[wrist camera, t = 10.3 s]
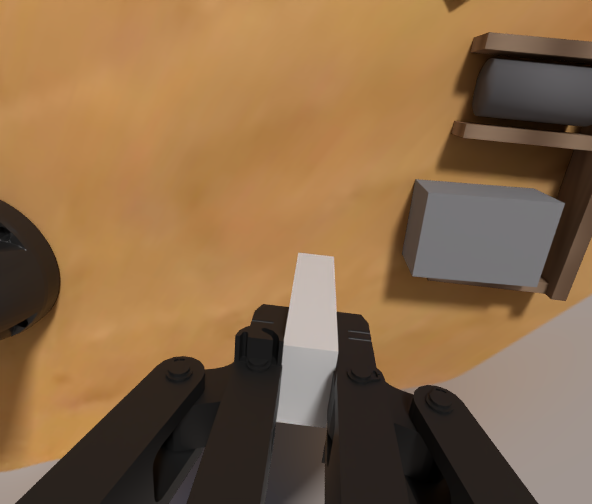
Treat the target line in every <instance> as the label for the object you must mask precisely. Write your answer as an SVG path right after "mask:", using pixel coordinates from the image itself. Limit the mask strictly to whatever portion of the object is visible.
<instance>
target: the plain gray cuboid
mask: <svg viewBox="0 0 592 504" xmlns="http://www.w3.org/2000/svg"><path fill="white" fill-rule="evenodd" d="M564 205H565V203H563V202H561V201H559V200H557V199H555V198H553V197H551V196H548V195H546V194H544V193H542V192H540V191H538V190H536V189H533V188H520V187H507V186H494V185H481V184H468V183H456V182H443V181H430V180H417V179H415V185H414V191H413V196H412V202H411V207H410V213H409V218H408V224H407V229H406V235H405V240H404V246H403V252H402V255H403V257H404V259H405V261H406V264H407V266H408V268H409V270H410V272H411V275H412V276H415V277H426V278H437V279H449V280H460V281H471V282H483V283H494V284H505V285H517V286H528V287H537V286H538V283H539V280H540V277H541V274H542V271H543V268H544V265H545V262H546V259H547V256H548V253H549V250H550V247H551V244H552V241H553V238H554V235H555V232H556V229H557V226H558V223H559V220H560V217H561V214H562V211H563V208H564Z"/></svg>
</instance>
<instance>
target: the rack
mask: <svg viewBox="0 0 592 504" xmlns="http://www.w3.org/2000/svg"><path fill="white" fill-rule="evenodd" d="M471 53H481V54H491V55H502V56H513V57H523V58H534V59H544V60H555V61H566V62H576V63H587V64H592V42H588V41H578V40H567V39H556V38H545V37H534V36H524V35H513V34H502V33H491V32H488V33H486V34H483V35H480V36H477V37H475V38H474V40H473V44H472V48H471ZM452 134H454V135H457V136H459V137H462V138H470V139H480V140H490V141H500V142H510V143H520V144H529V145H539V146H549V147H559V148H569V149H574V151H573V154H572V157H571V160H570V163H569V166H568V168H567V171H566V174H565V177H564V180H563V183H562V185H561V188H560V191H559V194H558V197H557V200H559V201H561V202H563V203H565V205H564V208H563V211H562V214H561V217H560V220H559V223H558V226H557V229H556V232H555V235H554V238H553V241H552V244H551V247H550V250H549V253H548V256H547V259H546V262H545V265H544V268H543V271H542V274H541V277H540V280H539V283H538V286H537V287H528V286H517V285H505V284H494V283H483V282H471V281H460V280H449V279H437V278H427V279H428V280H430V281H439V282H448V283H456V284H465V285H474V286H483V287H492V288H500V289H509V290H518V291H527V292H535V293H544V294H546V295H547V296H548V297H549V298H550V299H553V300H562V301H566V299H567V297H568V294H569V292H570V289H571V287H572V284H573V282H574V279H575V277H576V274H577V272H578V269H579V267H580V265H581V262H582V260H583V257H584V255H585V252H586V250H587V247H588V245H589V242H590V240H591V237H592V125H590V126H587V127H583V126H582V129H581V132H580V134H579V133H569V132H559V131H549V130H539V129H529V128H519V127H509V126H499V125H489V124H479V123H469V122H459V121H454V125H453V130H452Z"/></svg>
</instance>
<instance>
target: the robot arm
mask: <svg viewBox="0 0 592 504" xmlns="http://www.w3.org/2000/svg"><path fill="white" fill-rule="evenodd" d="M59 283H60V280H59V270H58V266H57V262H56V259H55V256H54V254H53V252H52V250H51V248H50V246H49V244H48V242H47V241H46V239H45V238H44V236H43V235H42V234H41V232H40V231H39V230H38V229H37V227H36V226H35V225H34V224H33V223H32V222H31V221H30V220H29V219H28V218H27V217H25V216H24V215H23V214H22V213H21V212H19V211H18V210H17V209H15V208H14V207H12V206H10V205H9V204H7V203H5V202H3V201H1V200H0V340H2V339H5V338H7V337H10V336H13V335H16V334H18V333H21V332H23V331H24V330H26V329H28V328H29V327H31V326H32V325H33V324H35V323H36V322H37V321H38V320H40V319H41V318H42V317H44V316H45V315H46V314H47V313H48V312H49V311H50V309H51V308H52V307H53V305H54V303H55V301H56V299H57V296H58V292H59ZM276 422H282V423H290V424H298V425H307V426H314V427H323V428H326V424H327V435H326V441H325V446H324V452H323V458H322V463H325V504H538V503H537V502H536V500H535V499H534V497H533V496H532V495H531V493H530V492H529V491H528V489H527V488H526V486H525V485H524V484H523V483H522V481H521V480H520V479H519V477H518V476H517V474H516V473H515V472H514V470H513V469H512V468H511V466H510V465H509V464H508V462H507V461H506V460H505V458H504V457H503V456H502V454H501V453H500V452H499V450H498V449H497V447H496V446H495V445H494V443H493V442H492V441H491V439H490V438H489V437H488V435H487V434H486V433H485V431H484V430H483V429H482V427H481V426H480V425H479V424H478V422H477V421H476V419H475V418H474V417H473V415H472V414H471V413H470V411H469V410H468V408H467V407H466V406H465V404H464V403H463V402H462V401H461V400H460V399H459V398H458V397H457V396H456V395H455V394H453V393H452V392H450V391H448V390H447V389H443V388H441V387H438V386H431V385H426V386H421V387H419V388H418V389H416V390H415V392H414V395H413V394H410V393H407V392H404V391H402V390H399V389H397V388H395V387H392V386H391V385H389V384H388V383H386V382H385V378H384V376H383V374H382V372H381V371H380V370H379V369H377V368H376V363H375V357H374V352H373V347H372V342H371V336H370V330H369V325H368V322H367V321H366V320H365V319H364V318H363V317H362V315H359V314H351V313H342V312H336V291H335V271H334V257H332V256H323V255H315V254H306V253H298V259H297V265H296V271H295V276H294V282H293V288H292V294H291V300H290V306H289V307H283V306H275V305H266V304H263V305H261V306H260V307H259V308H258V309H257V310H255V312H254V315H253V318H252V321H251V325H250V326H248V327H245V328H243V329H241V330H239V332H238V333H237V334H236V336H235V358H234V362H233V363H232V364H230V365H228V366H225V367H221V368H216V369H206V370H205V369H204V366H203V364H202V363H201V362H200V361H199V360H197V359H194V358H192V357H185V356H181V357H173V358H170V359H167V360H165V361H163V362H162V363H160V364H159V365H157V366H156V367H155V368H154V369H153V370H152V371H151V372H150V373H149V374H148V375H147V376H146V377H145V378H144V379H143V380H142V381H141V382H140V383H139V384H138V385H137V386H136V387H135V388H134V389H133V390H132V391H131V392H130V393H129V394H128V395H127V396H126V397H124V398H123V399H122V400H121V401H120V402H119V403H118V404H117V405H116V406H115V407H114V408H113V409H112V410H111V411H110V412H109V413H108V414H107V415H106V416H105V417H104V418H103V419H102V420H101V421H100V422H99V423H98V424H97V425H96V426H95V427H94V428H93V429H92V430H91V431H89V432H88V433H87V434H86V435H85V436H84V437H83V438H82V439H81V440H80V441H79V442H78V443H77V444H76V445H75V446H74V447H73V448H72V449H71V450H70V451H69V452H68V453H67V454H66V455H65V456H64V457H63V458H62V459H61V460H60V461H59V462H58V463H57V464H56V465H54V466H53V467H52V468H51V469H50V470H49V471H48V472H47V473H46V474H45V475H44V476H43V477H42V478H41V479H40V480H39V481H38V482H37V483H36V484H35V485H34V486H33V487H32V488H31V489H30V490H29V491H28V492H27V493H26V494H25V495H24V496H23V497H22V498H20V499H19V500H18V501H17V502H16V503H15V504H169V502H170V501H171V499H172V498H173V496H174V494H175V493H176V491H177V490H178V488H179V487H180V485H181V484H182V482H183V481H184V479H185V478H186V476H187V474H188V473H189V472H190V470H191V468H192V467H193V465H194V464H195V462H196V461H197V459H198V458H199V456H200V454H201V453H202V450H203V448H204V447H205V450H204V453H203V456H202V459H201V462H200V465H199V468H198V471H197V474H196V477H195V480H194V483H193V486H192V489H191V492H190V495H189V498H188V501H187V504H265V499H266V492H267V484H268V478H269V471H270V465H271V458H272V451H273V444H274V437H275V427H276Z"/></svg>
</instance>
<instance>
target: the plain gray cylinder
mask: <svg viewBox="0 0 592 504" xmlns="http://www.w3.org/2000/svg"><path fill="white" fill-rule="evenodd" d="M472 107H473V112H474V114H475V115H476V116H482V117H492V118H502V119H512V120H522V121H532V122H542V123H552V124H562V125H572V126H583V127H587V126H590V125H592V67H584V66H574V65H563V64H553V63H542V62H531V61H521V60H510V59H500V58H490V59H488V60H487V61H486V63H485V64H484V66H483V67H482V69H481V71H480V73H479V76H478V78H477V82H476V86H475V90H474V95H473V101H472Z"/></svg>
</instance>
